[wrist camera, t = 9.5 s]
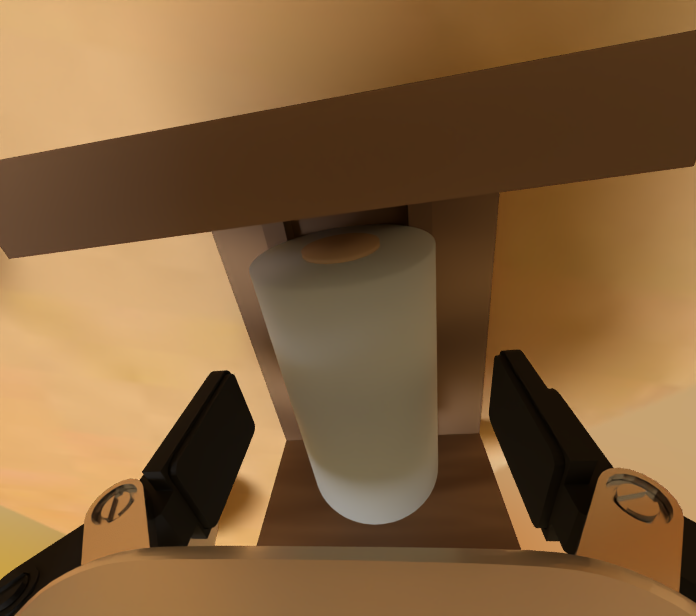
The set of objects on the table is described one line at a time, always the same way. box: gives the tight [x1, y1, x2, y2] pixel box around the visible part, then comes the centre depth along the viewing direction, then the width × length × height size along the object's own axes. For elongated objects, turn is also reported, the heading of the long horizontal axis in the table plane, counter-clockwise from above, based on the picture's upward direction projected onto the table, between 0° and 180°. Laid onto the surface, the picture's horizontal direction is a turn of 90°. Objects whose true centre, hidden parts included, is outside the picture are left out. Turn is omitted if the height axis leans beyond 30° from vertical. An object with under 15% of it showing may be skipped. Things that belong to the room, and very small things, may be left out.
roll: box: [249, 224, 438, 525], centre depth 12 cm, size 10×6×6 cm, turn 9°
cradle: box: [0, 30, 696, 550], centre depth 12 cm, size 17×11×8 cm, turn 8°
